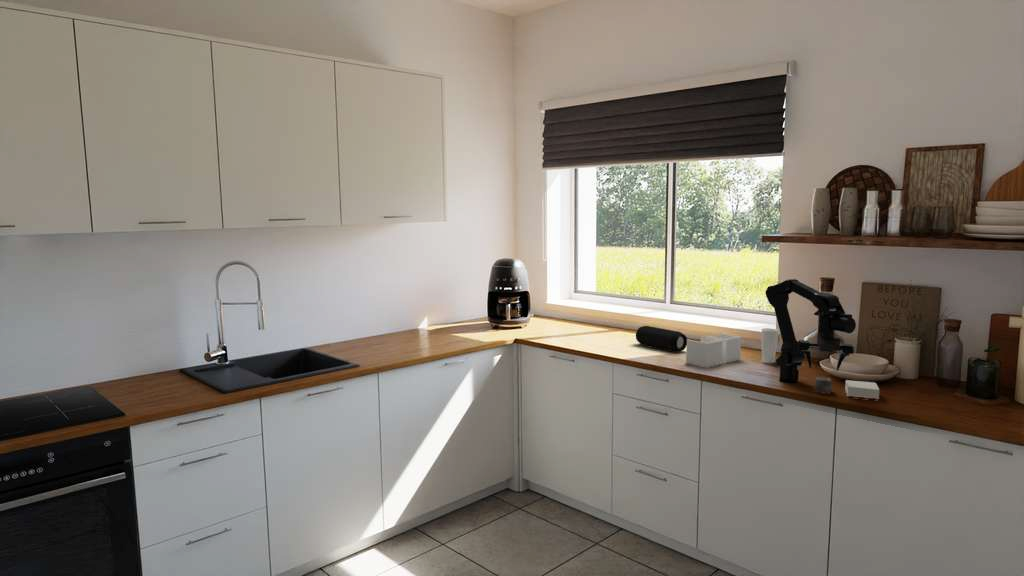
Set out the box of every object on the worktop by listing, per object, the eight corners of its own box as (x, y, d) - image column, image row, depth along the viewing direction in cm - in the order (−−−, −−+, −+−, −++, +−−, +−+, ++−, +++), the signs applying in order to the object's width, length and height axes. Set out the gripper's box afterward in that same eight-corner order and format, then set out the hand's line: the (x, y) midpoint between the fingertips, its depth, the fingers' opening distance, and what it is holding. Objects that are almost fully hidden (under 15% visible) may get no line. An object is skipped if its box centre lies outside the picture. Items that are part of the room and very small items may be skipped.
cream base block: (847, 397, 236) (848, 386, 235) (845, 390, 245) (845, 380, 245) (878, 400, 232) (879, 389, 232) (875, 393, 241) (875, 382, 241)
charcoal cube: (815, 392, 242) (816, 379, 242) (815, 389, 247) (815, 376, 246) (830, 394, 240) (831, 381, 240) (829, 390, 245) (830, 378, 244)
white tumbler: (758, 363, 289) (760, 330, 287) (762, 360, 294) (763, 327, 292) (774, 365, 285) (776, 331, 283) (777, 361, 291) (779, 329, 289)
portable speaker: (688, 351, 313) (688, 331, 312) (675, 354, 307) (675, 333, 306) (647, 343, 333) (647, 324, 332) (634, 345, 327) (634, 326, 325)
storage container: (706, 368, 280) (707, 343, 279) (686, 363, 289) (686, 339, 288) (740, 360, 295) (741, 336, 294) (719, 355, 304) (720, 333, 303)
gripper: (799, 330, 237) (797, 371, 239) (856, 334, 230) (853, 377, 232) (798, 325, 247) (796, 365, 249) (853, 328, 240) (850, 369, 242)
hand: (823, 369), depth 243 cm, fingers open, 9 cm apart
